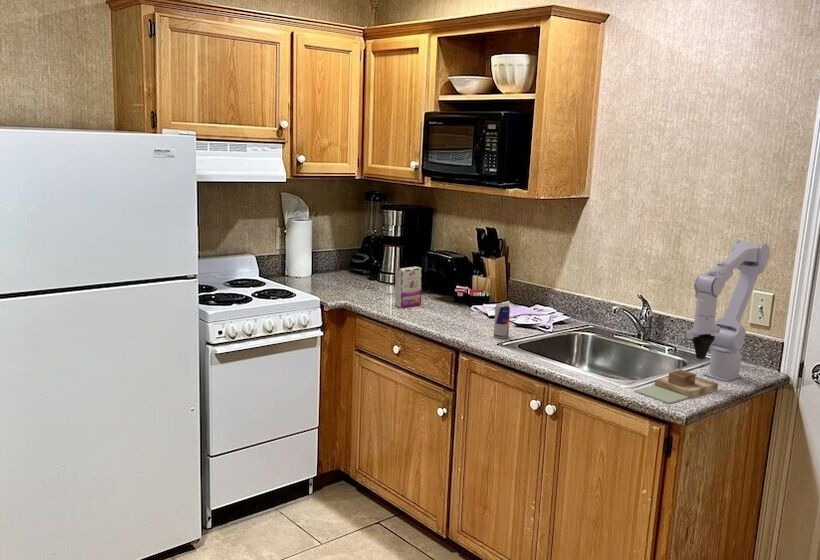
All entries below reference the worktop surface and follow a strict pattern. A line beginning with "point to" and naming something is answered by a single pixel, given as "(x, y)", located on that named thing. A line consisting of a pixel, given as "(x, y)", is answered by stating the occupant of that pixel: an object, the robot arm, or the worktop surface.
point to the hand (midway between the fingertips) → (700, 358)
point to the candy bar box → (408, 287)
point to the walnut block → (681, 378)
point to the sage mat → (661, 394)
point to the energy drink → (501, 321)
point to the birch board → (688, 387)
